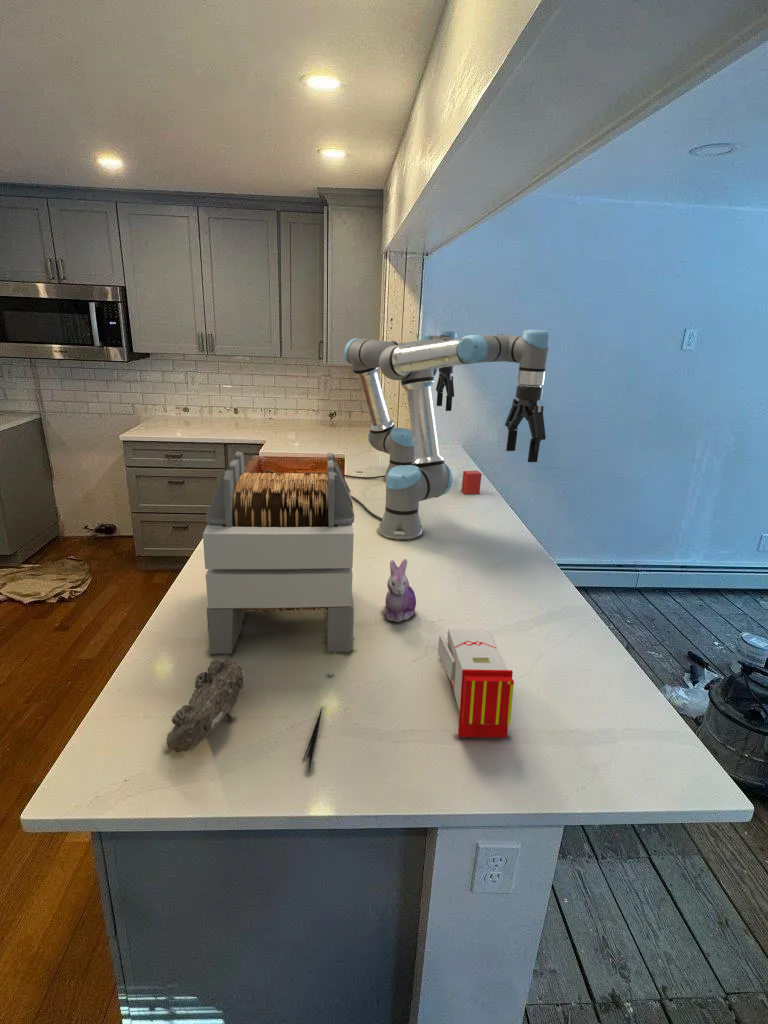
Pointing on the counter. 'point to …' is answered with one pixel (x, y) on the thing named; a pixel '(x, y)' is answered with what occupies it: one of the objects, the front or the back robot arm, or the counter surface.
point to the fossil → (206, 705)
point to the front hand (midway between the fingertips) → (521, 456)
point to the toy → (478, 682)
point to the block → (471, 482)
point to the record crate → (279, 550)
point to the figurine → (399, 594)
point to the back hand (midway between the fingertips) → (443, 408)
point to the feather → (313, 740)
